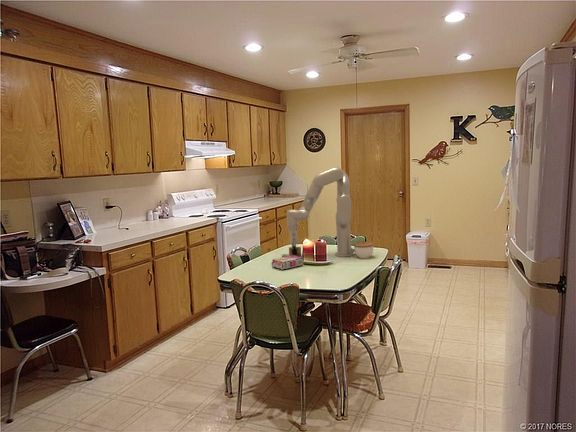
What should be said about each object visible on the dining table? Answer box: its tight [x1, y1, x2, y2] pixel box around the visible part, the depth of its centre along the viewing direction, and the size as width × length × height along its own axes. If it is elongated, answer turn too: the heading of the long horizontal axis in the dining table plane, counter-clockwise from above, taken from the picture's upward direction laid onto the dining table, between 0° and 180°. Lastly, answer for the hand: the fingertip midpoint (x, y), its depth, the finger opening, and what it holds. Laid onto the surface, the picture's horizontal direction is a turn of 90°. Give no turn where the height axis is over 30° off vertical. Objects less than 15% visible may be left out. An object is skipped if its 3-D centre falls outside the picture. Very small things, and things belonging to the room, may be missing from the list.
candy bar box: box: [271, 255, 305, 270], centre depth 280 cm, size 11×5×16 cm
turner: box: [281, 246, 302, 258], centre depth 307 cm, size 13×5×6 cm, turn 93°
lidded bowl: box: [353, 240, 374, 260], centre depth 294 cm, size 13×13×11 cm
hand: (294, 253), depth 307 cm, fingers closed on turner, 2 cm apart
